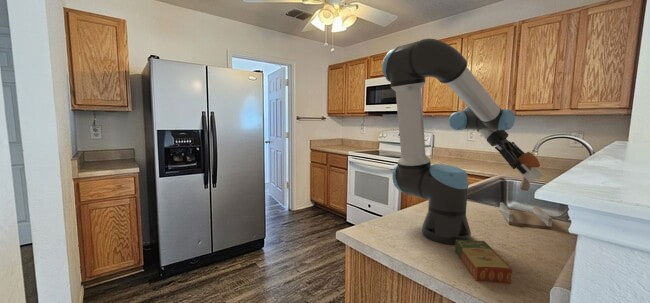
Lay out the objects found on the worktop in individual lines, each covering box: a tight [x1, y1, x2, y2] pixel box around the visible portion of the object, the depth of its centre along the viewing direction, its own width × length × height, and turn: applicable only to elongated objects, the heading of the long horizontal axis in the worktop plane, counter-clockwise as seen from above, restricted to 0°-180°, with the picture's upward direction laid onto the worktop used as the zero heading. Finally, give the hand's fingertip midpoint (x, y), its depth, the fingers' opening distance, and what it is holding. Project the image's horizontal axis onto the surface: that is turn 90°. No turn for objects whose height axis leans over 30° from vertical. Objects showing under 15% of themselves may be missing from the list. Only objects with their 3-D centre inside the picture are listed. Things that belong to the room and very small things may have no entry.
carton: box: [454, 240, 513, 284], centre depth 75 cm, size 8×16×4 cm, turn 172°
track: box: [498, 201, 553, 230], centre depth 110 cm, size 13×16×4 cm
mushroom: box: [518, 151, 541, 192], centre depth 108 cm, size 8×8×15 cm
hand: (537, 178), depth 106 cm, fingers closed on mushroom, 8 cm apart
